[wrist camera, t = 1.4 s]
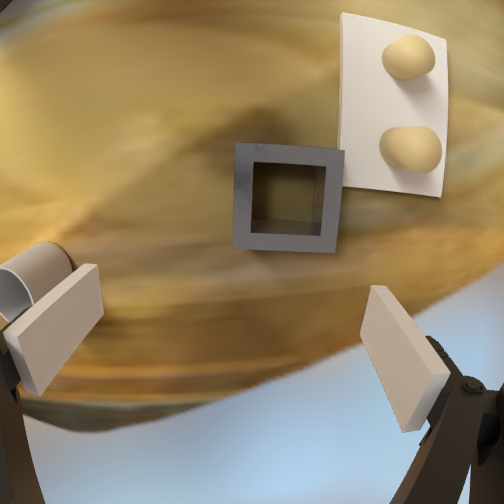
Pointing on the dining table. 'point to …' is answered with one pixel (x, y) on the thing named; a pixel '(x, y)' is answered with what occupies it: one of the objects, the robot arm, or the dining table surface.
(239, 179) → the collar
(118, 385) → the dining table surface
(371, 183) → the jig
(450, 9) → the dining table surface
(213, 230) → the dining table surface
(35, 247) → the cup
